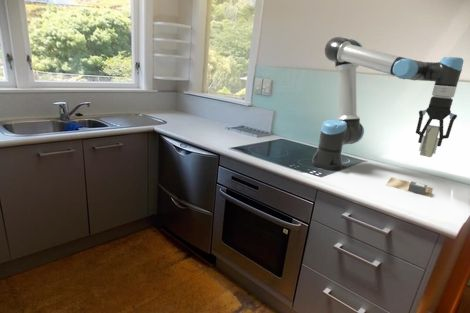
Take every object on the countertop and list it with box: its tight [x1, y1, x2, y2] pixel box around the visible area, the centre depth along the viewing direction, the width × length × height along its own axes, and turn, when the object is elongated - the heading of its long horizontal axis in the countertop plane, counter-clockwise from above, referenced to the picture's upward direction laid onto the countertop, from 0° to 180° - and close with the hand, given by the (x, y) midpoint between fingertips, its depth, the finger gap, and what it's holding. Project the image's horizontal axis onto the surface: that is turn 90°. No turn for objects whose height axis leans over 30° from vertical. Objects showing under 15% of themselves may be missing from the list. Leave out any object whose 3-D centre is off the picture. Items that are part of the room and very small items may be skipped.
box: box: [419, 124, 440, 158], centre depth 123 cm, size 5×4×13 cm
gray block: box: [407, 181, 428, 196], centre depth 123 cm, size 6×5×3 cm
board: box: [385, 176, 434, 198], centre depth 129 cm, size 17×14×1 cm
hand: (427, 151), depth 125 cm, fingers closed on box, 4 cm apart
